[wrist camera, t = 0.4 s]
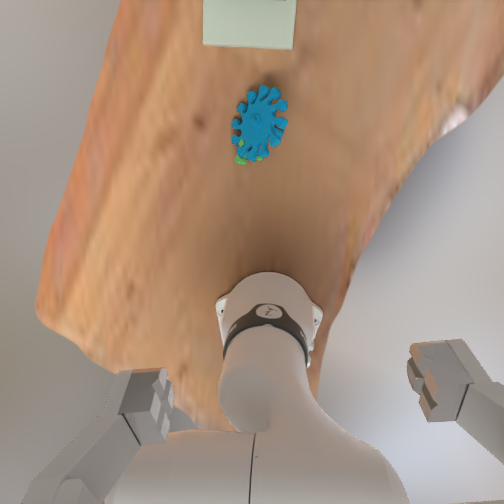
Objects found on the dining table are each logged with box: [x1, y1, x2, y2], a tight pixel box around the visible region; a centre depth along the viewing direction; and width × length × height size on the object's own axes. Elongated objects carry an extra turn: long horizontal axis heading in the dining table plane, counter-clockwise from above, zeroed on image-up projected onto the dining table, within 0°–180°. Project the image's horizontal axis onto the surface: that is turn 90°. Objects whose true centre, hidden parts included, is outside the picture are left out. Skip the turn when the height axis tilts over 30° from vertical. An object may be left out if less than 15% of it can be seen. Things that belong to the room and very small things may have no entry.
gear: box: [231, 85, 288, 165], centre depth 49 cm, size 11×6×10 cm
